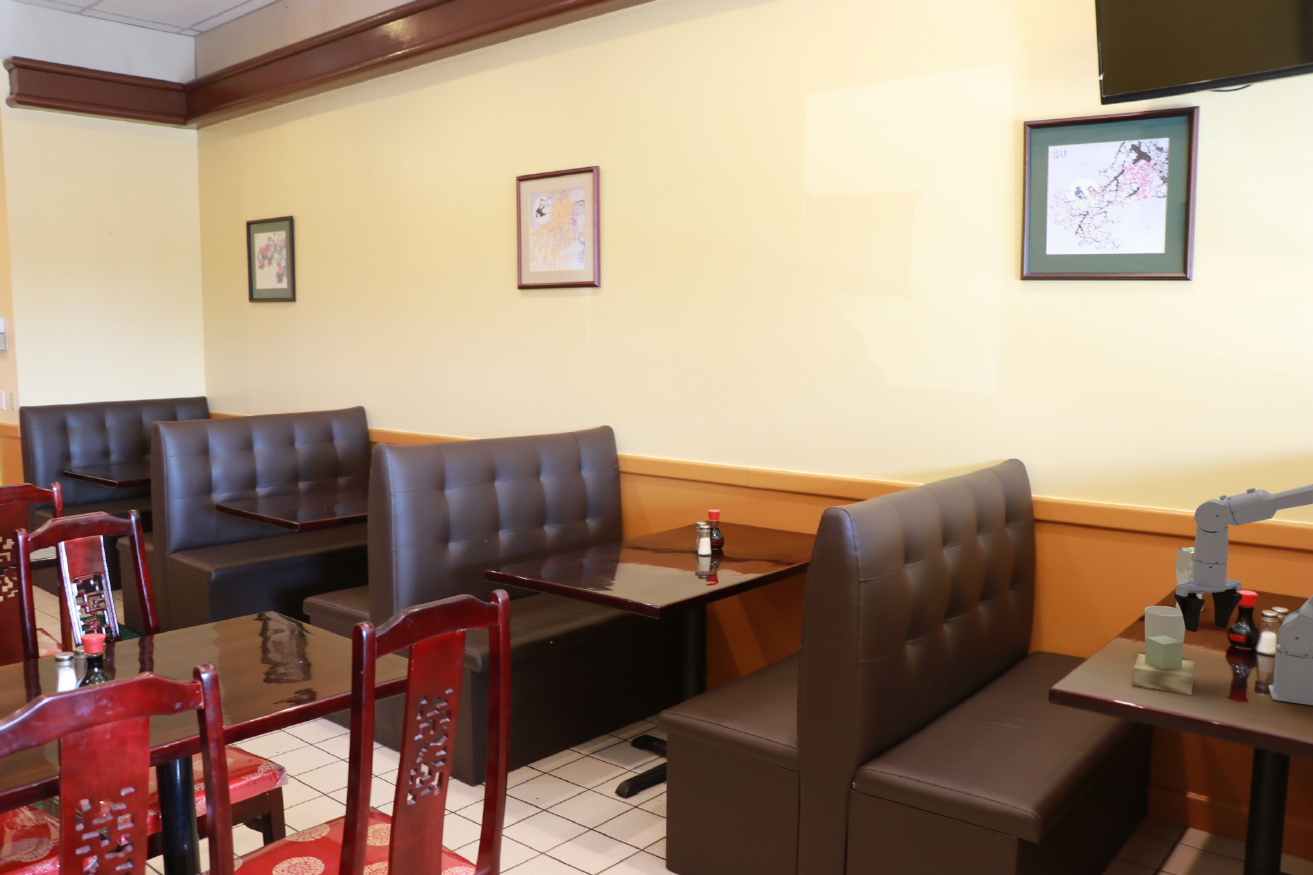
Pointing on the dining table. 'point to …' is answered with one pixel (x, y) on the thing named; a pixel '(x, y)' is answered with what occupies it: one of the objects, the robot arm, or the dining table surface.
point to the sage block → (1163, 652)
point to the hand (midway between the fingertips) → (1206, 628)
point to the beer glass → (1185, 567)
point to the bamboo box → (1164, 676)
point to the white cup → (1164, 622)
